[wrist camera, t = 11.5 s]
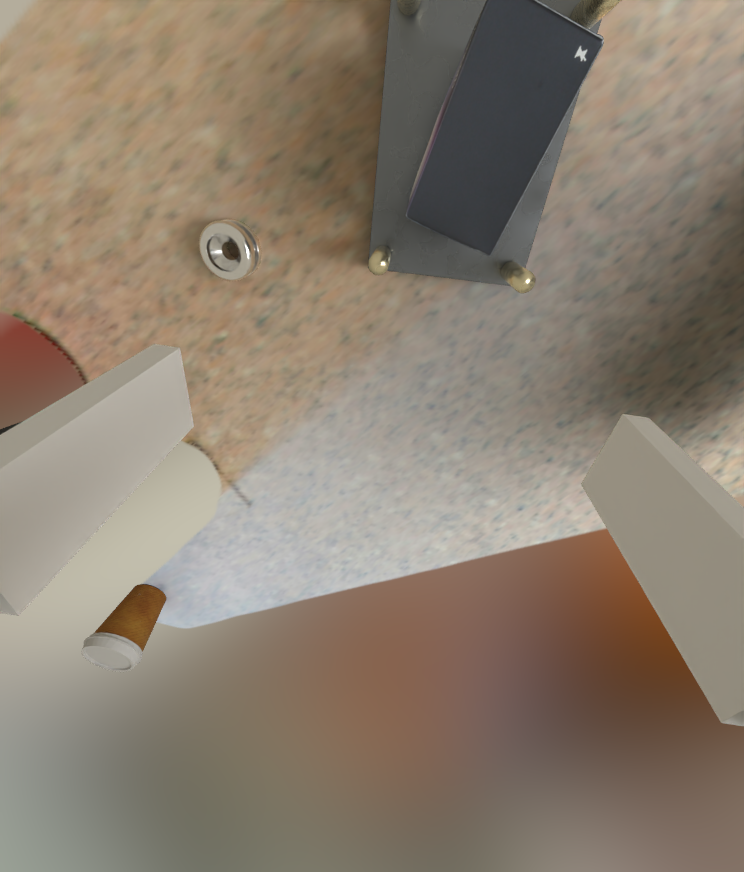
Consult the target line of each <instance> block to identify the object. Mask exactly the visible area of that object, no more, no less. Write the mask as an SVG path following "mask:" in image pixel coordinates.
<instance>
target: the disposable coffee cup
mask: <svg viewBox="0 0 744 872" xmlns="http://www.w3.org/2000/svg"><path fill="white" fill-rule="evenodd" d="M165 601H166V596H165V594H164V593H163V592H162V591H161V590H159V589H157V588H155V587H153V586H150V585H144V584H141V585H137V586H135V587H134V588H133V590H132V591H131V592H130V593H129V594H128V595H127V596H126V597H125V598H124V600H123V601H122V602H121V603H120V604H119V605H118V606H117V608H116V609H115V610H114V611H113V612H112V613H111V614H110V616H109V617H108V618H107V619H106V620H105V621H104V622H103V624H102V625H101V626H100V627H99V628H98V629H97V630H96V631H95V633H94V634H92V635H91V636H90V637H88V638H86V639H85V641H84V647H83V648H82V651H81V652H82V655H83V656H84V658H85V659H87V660H88V661H90V662H91V663H93V664H95V665H97V666H99V667H102V668H104V669H108V670H112V671H119V672H125V671H129V670H132V669H133V668H134V667H135V665H136V664H138V663H139V662H140V661H141V659H142V654H143V653H142V652H143V650H144V647H145V645H146V643H147V641H148V638H149V636H150V634H151V632H152V630H153V628H154V625H155V623H156V621H157V619H158V616H159V614H160V612H161V610H162V608H163V605H164V603H165Z"/></svg>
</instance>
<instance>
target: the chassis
mask: <svg viewBox="0 0 744 872" xmlns="http://www.w3.org/2000/svg"><path fill="white" fill-rule="evenodd" d="M539 1H540V2H542V3H544V4H546V5H547V6H549V7H550V8H552V9H554V10H556V11H557V12H559V13H561V14H563V15H565V16H567V17H568V18H570V19H572V20H573V21H575V22H577V23H579V24H580V25H582V26H584V27H585V28H587V29H589V30H591V31H592V32H595V33H596V34H597V33H598V29H599V26H600V23H601V20H602V17H604V16H605V15H606V14H607V13H608V12H609V11H610V10H611V9H612V8H613V7H614V6H616V5H617V4H618V3H619V2H620V1H621V0H539ZM485 2H486V0H391V4H390V16H389V28H388V39H387V51H386V63H385V75H384V86H383V98H382V110H381V122H380V133H379V145H378V157H377V169H376V181H375V192H374V204H373V216H372V228H371V239H370V251H369V262H368V268H369V270H370V271H371V272H372V273H373V274H375V275H382V274H384V273H385V272H386V271H395V272H403V273H411V274H419V275H427V276H435V277H444V278H452V279H460V280H468V281H476V282H484V283H492V284H501V285H509V286H512V287H513V288H514V289H515V290H516V291H517V292H519V293H526V292H528V291H530V290H531V289H532V288H533V287H534V285H535V276H534V274H533V273H531V272H530V271H528V270H527V269H525V267H526V263H527V260H528V257H529V254H530V250H531V247H532V244H533V241H534V237H535V234H536V231H537V228H538V224H539V221H540V218H541V215H542V211H543V208H544V205H545V202H546V198H547V195H548V192H549V189H550V185H551V182H552V179H553V176H554V172H555V169H556V166H557V163H558V159H559V156H560V153H561V150H562V146H563V143H564V140H565V137H566V133H567V130H568V127H569V124H570V120H571V117H572V114H573V111H574V107H575V104H576V101H577V98H578V94H579V92H578V93H577V95H576V97H575V99H574V101H573V103H572V105H571V107H570V108H569V110H568V112H567V114H566V116H565V118H564V120H563V122H562V124H561V125H560V127H559V129H558V131H557V133H556V135H555V136H554V138H553V140H552V142H551V144H550V146H549V148H548V150H547V152H546V154H545V156H544V158H543V159H542V161H541V163H540V165H539V167H538V169H537V171H536V173H535V175H534V176H533V178H532V180H531V182H530V184H529V186H528V187H527V189H526V191H525V193H524V195H523V197H522V199H521V201H520V203H519V204H518V206H517V208H516V210H515V212H514V214H513V216H512V218H511V220H510V221H509V223H508V225H507V227H506V229H505V231H504V233H503V234H502V236H501V238H500V240H499V242H498V244H497V246H496V247H495V249H494V251H493V253H492V255H491V256H486V255H483V254H481V253H480V252H477V251H475V250H473V249H470V248H468V247H466V246H464V245H462V244H460V243H458V242H455V241H453V240H451V239H449V238H447V237H445V236H442V235H440V234H438V233H436V232H434V231H432V230H430V229H428V228H426V227H423V226H421V225H419V224H418V223H416V222H414V221H412V220H410V219H408V218H407V217H406V212H407V207H408V203H409V199H410V195H411V192H412V188H413V185H414V182H415V179H416V176H417V173H418V170H419V167H420V165H421V162H422V159H423V156H424V154H425V151H426V148H427V145H428V142H429V139H430V137H431V134H432V131H433V128H434V126H435V123H436V120H437V117H438V115H439V112H440V110H441V107H442V105H443V102H444V100H445V97H446V95H447V92H448V90H449V87H450V85H451V82H452V80H453V77H454V75H455V72H456V70H457V67H458V65H459V62H460V60H461V58H462V55H463V53H464V50H465V48H466V45H467V43H468V41H469V38H470V36H471V34H472V31H473V29H474V27H475V24H476V22H477V20H478V17H479V15H480V13H481V10H482V8H483V6H484V4H485ZM579 91H580V90H579Z"/></svg>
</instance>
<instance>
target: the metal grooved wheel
mask: <svg viewBox="0 0 744 872" xmlns="http://www.w3.org/2000/svg"><path fill="white" fill-rule="evenodd" d="M230 242H232V243H233V244H235V245H236V247H237V249H238V257H237V258H235V257H233V256H232V255H231V254H230V252H229V249H228V245H229V243H230ZM199 250H200V255H201V257H202V260H203V262H204V264H205V265H206V267H207V268H208V269H209V270H210V271H211V272H212V273H213V274H214V275H216V276H217V277H219V278H221V279H223V280H226V281H239V280H241V279H243V278H245V277H247V276H249V275H251V274H253V273H254V272H255V271H256V270H257V269H258V267H259V265H260V263H261V259H262V250H261V245H260V242H259V239H258V237H257V236H256V234H255V233H254V231H253V230H252V229H251V228H250V227H249V226H248V225H246V224H245V223H243V222H241V221H239V220H235V219H226V220H219V221H214V222H211V223H209V224H208V225H207V226H206V227H205V228H204V229H203V231H202V232H201V235H200V238H199Z"/></svg>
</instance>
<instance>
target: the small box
mask: <svg viewBox="0 0 744 872" xmlns="http://www.w3.org/2000/svg"><path fill="white" fill-rule="evenodd" d="M603 43H604V40H603V37H602V36H601V35H599V34H596V33H595V32H592V31H591V30H589V29H587V28H585V27H584V26H582V25H580V24H579V23H577V22H575V21H573V20H572V19H570V18H568V17H567V16H565V15H563V14H561V13H559V12H557V11H556V10H554V9H552V8H550V7H549V6H547V5H546V4H544V3H542V2H540V1H539V0H486V2H485V4H484V6H483V8H482V10H481V13H480V15H479V17H478V20H477V22H476V24H475V27H474V29H473V31H472V34H471V36H470V38H469V41H468V43H467V45H466V48H465V50H464V53H463V55H462V58H461V60H460V62H459V65H458V67H457V70H456V72H455V75H454V77H453V80H452V82H451V85H450V87H449V90H448V92H447V95H446V97H445V100H444V102H443V105H442V107H441V110H440V112H439V115H438V117H437V120H436V123H435V126H434V128H433V131H432V134H431V137H430V139H429V142H428V145H427V148H426V151H425V154H424V156H423V159H422V162H421V165H420V167H419V170H418V173H417V176H416V179H415V182H414V185H413V188H412V192H411V195H410V199H409V203H408V207H407V212H406V217H407V218H408V219H410V220H412V221H414V222H416V223H418V224H419V225H421V226H423V227H426V228H428V229H430V230H432V231H434V232H436V233H438V234H440V235H442V236H445V237H447V238H449V239H451V240H453V241H455V242H458V243H460V244H462V245H464V246H466V247H468V248H470V249H473V250H475V251H477V252H480V253H481V254H483V255H486V256H491V255H492V253H493V251H494V249H495V247H496V246H497V244H498V242H499V240H500V238H501V236H502V234H503V233H504V231H505V229H506V227H507V225H508V223H509V221H510V220H511V218H512V216H513V214H514V212H515V210H516V208H517V206H518V204H519V203H520V201H521V199H522V197H523V195H524V193H525V191H526V189H527V187H528V186H529V184H530V182H531V180H532V178H533V176H534V175H535V173H536V171H537V169H538V167H539V165H540V163H541V161H542V159H543V158H544V156H545V154H546V152H547V150H548V148H549V146H550V144H551V142H552V140H553V138H554V136H555V135H556V133H557V131H558V129H559V127H560V125H561V124H562V122H563V120H564V118H565V116H566V114H567V112H568V110H569V108H570V107H571V105H572V103H573V101H574V99H575V97H576V95H577V93H578V92H579V90H580V88H581V86H582V84H583V82H584V80H585V79H586V77H587V74H588V72H589V71H590V69H591V67H592V65H593V63H594V61H595V59H596V58H597V56H598V54H599V52H600V50H601V48H602V46H603Z"/></svg>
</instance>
